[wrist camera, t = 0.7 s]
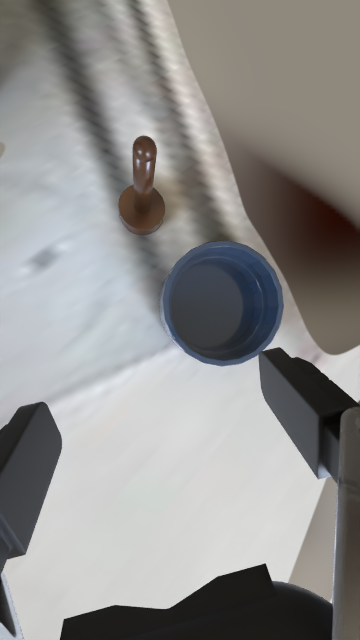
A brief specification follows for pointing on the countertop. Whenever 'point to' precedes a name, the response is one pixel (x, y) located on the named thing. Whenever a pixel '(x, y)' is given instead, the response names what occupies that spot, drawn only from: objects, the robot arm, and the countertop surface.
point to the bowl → (221, 303)
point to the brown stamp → (142, 192)
